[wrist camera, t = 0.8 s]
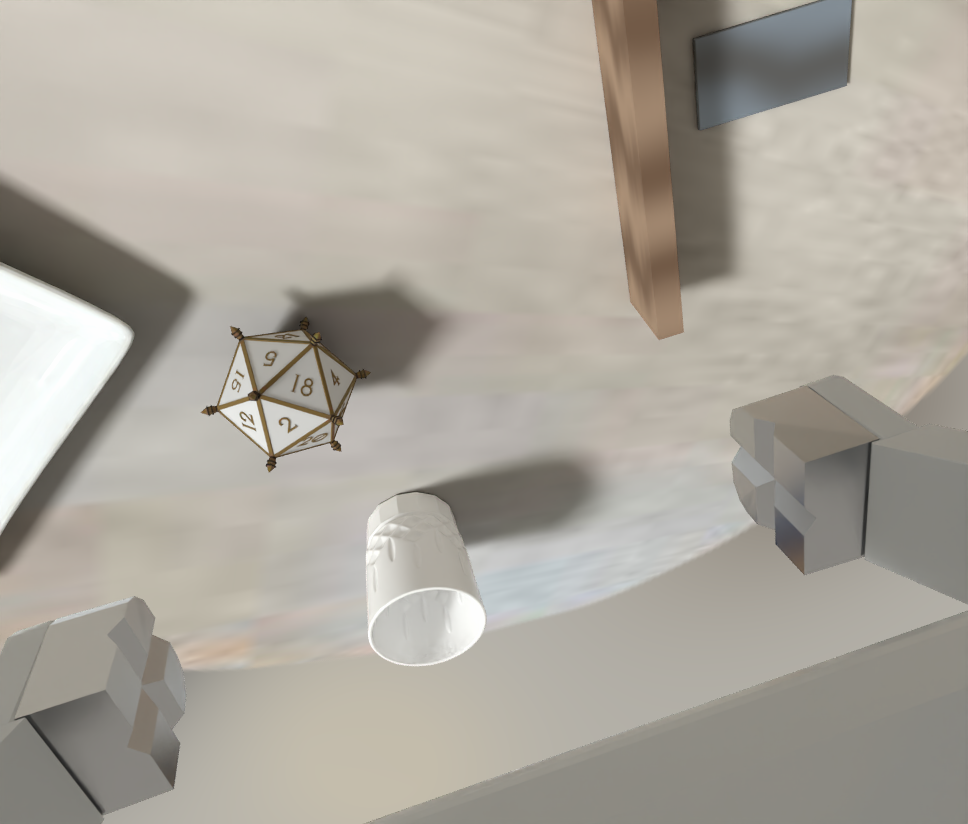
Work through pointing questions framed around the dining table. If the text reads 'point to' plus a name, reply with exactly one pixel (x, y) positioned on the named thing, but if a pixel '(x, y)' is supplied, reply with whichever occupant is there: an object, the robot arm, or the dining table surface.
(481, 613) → the white cup
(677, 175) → the dining table surface
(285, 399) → the game die
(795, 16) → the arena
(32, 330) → the square plate
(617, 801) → the robot arm
